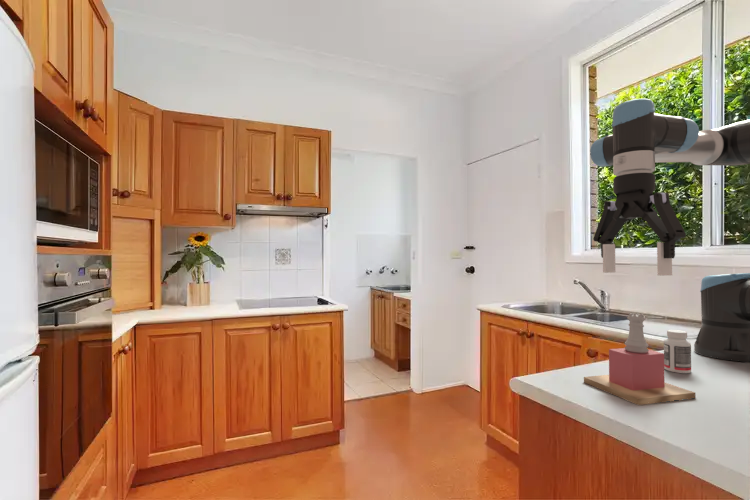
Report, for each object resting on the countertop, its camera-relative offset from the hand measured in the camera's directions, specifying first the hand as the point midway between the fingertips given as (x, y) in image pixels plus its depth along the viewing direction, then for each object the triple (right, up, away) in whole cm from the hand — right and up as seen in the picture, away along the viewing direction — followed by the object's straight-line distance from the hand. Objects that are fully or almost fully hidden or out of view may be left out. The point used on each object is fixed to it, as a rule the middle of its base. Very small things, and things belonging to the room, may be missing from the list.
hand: (634, 274), depth 85 cm
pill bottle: (+19, -25, +14) cm, 34 cm away
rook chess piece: (0, -17, 0) cm, 17 cm away
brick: (0, -24, 0) cm, 24 cm away
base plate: (0, -25, 0) cm, 25 cm away
